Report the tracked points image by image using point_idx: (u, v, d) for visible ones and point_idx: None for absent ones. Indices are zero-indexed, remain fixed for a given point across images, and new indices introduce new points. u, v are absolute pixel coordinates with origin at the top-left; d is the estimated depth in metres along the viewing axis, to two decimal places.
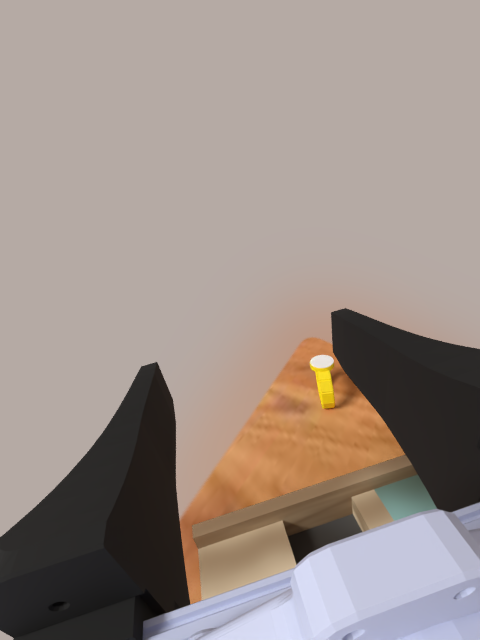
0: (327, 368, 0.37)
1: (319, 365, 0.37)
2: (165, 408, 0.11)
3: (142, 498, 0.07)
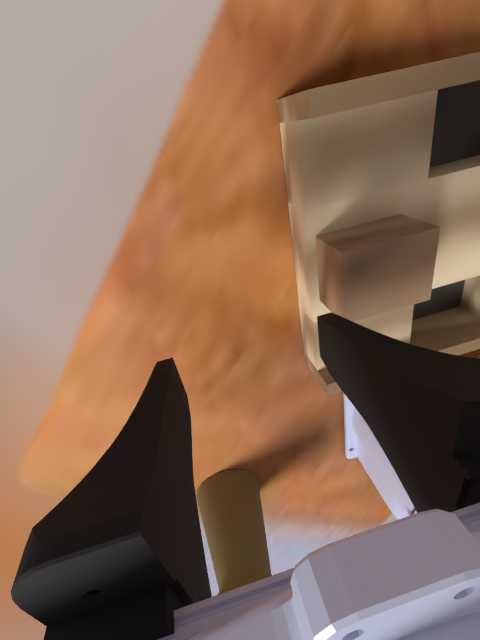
0: None
1: None
2: (181, 403, 0.11)
3: (168, 490, 0.07)
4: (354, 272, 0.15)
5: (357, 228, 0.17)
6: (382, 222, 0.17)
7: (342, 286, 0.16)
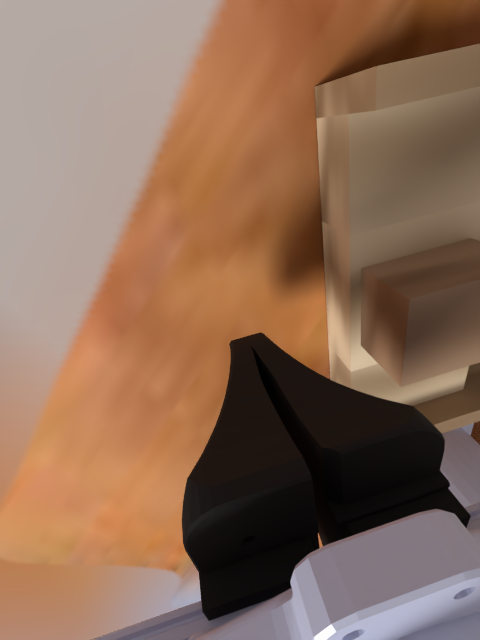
0: None
1: None
2: None
3: None
4: (423, 322, 0.11)
5: (417, 259, 0.13)
6: (450, 250, 0.13)
7: (405, 340, 0.11)
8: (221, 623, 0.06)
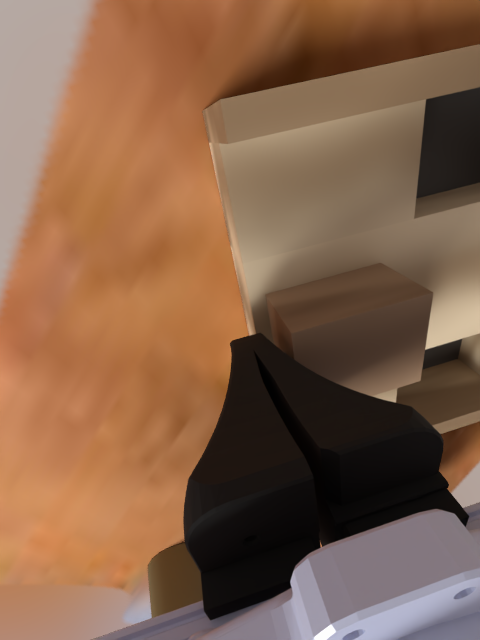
0: None
1: None
2: None
3: None
4: (312, 355, 0.11)
5: (321, 285, 0.12)
6: (355, 276, 0.13)
7: None
8: (223, 623, 0.06)
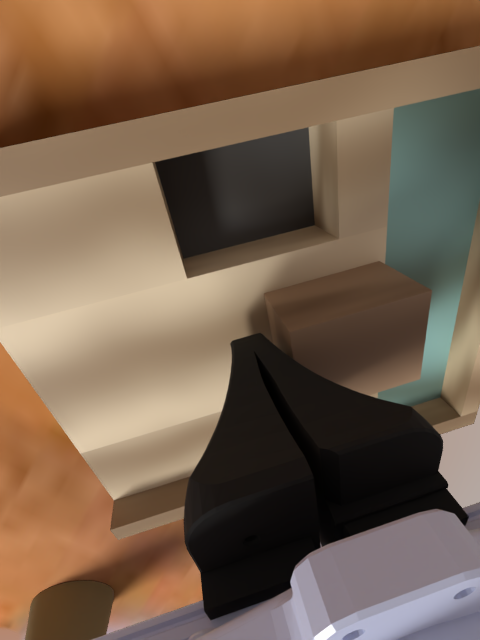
0: None
1: None
2: None
3: None
4: (310, 354, 0.11)
5: (319, 284, 0.12)
6: (354, 274, 0.13)
7: None
8: (223, 623, 0.06)
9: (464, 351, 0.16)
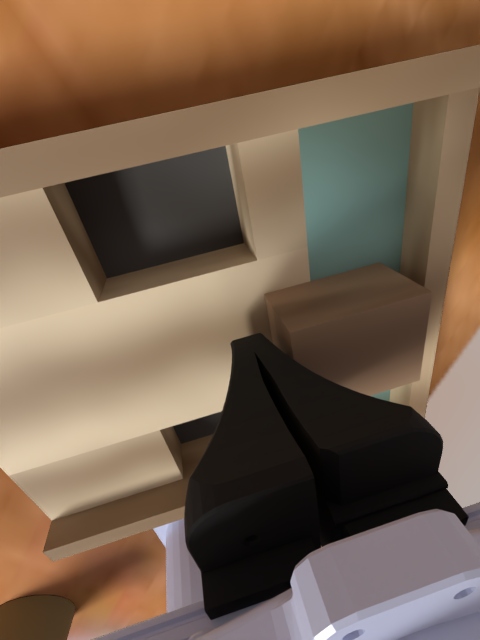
0: None
1: None
2: None
3: None
4: (310, 355, 0.11)
5: (320, 285, 0.12)
6: (354, 276, 0.13)
7: None
8: (223, 623, 0.06)
9: None
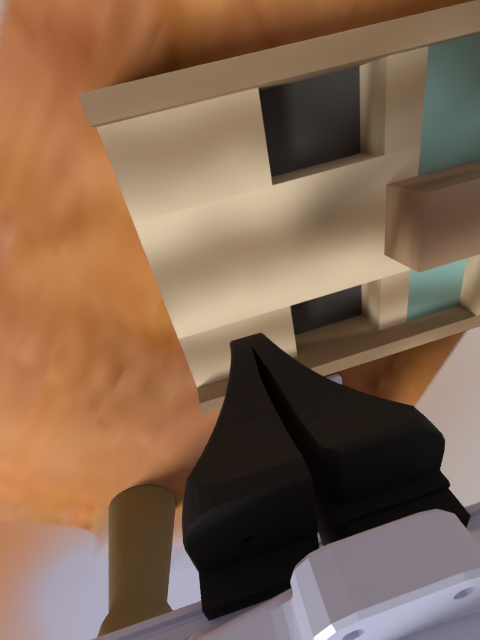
0: None
1: None
2: None
3: None
4: (435, 214, 0.15)
5: (430, 175, 0.17)
6: (455, 168, 0.17)
7: (422, 229, 0.15)
8: (221, 623, 0.06)
9: (479, 256, 0.20)
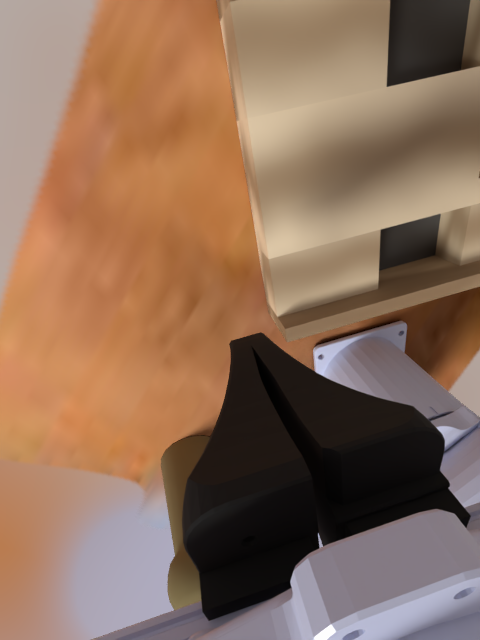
0: None
1: None
2: None
3: None
4: None
5: None
6: None
7: None
8: (221, 623, 0.06)
9: None
